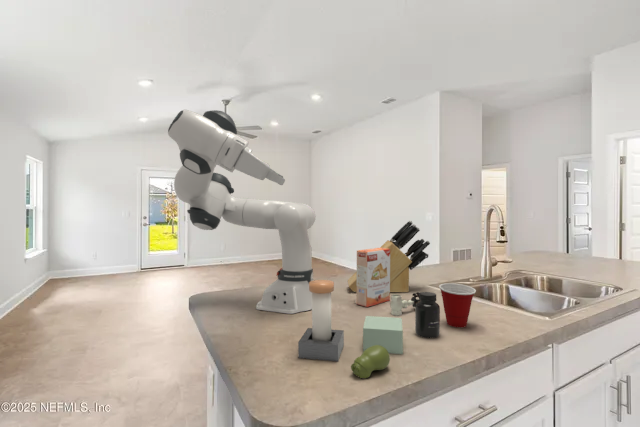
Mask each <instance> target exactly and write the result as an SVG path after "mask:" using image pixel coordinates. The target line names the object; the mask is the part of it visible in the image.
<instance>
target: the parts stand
mask: <svg viewBox="0 0 640 427" xmlns="http://www.w3.org/2000/svg"><path fill="white" fill-rule="evenodd" d="M403 330H404V329H403V320H402V317H393V316H392V317H390V316H389V317H388V316H376V315H375V316H373V315H365V319H364V322H363V327H362V343H363V344H362V347H363V348H362V350H363V351H362V352H364V351H365V350H366V349H367V348H369V347H371V346H374V345H380V346H383V347H384V348H386V349H387V351H388V353H389V354H393V355H394V354H396V355H404V351H403V350H404V347H403V346H404V342H403V341H404V336H403V333H404V332H403Z"/></svg>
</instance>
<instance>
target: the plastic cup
mask: <svg viewBox="0 0 640 427" xmlns="http://www.w3.org/2000/svg"><path fill="white" fill-rule="evenodd" d="M438 288H439V290H440V293H441V298H442V303H443V305H442V306H443V311H444V314H445V319H446V324H447V325H448V326H450V327H452V328H453V327H454V328H460V329H461V328H466V327H467V325H468V320H469V315H470V311H471V306H472V301H473V298H474V295H475V294H476V292H477V290H476V288H474V287H472V286H470V285H467V284H461V283H455V282H446V283H441V284H439V285H438Z"/></svg>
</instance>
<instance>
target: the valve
mask: <svg viewBox="0 0 640 427" xmlns="http://www.w3.org/2000/svg"><path fill="white" fill-rule="evenodd" d="M419 293H420V292H418V291H417V292H413V293H412V294H411V295H412V297H411V298H410V299H409V300H406V299H403V298H402V297H403V296H402V295H401V294H398V293H397V294H396V293H395V294H394V293H393V294H391V296H390V303H389V305H390V309H391V310H390V311H391V312H390V313H391V315H392V316H396V317H398V316H399V317H400V316H402V312H403V310H402V309H407V308H408V307H409V306H412V307H413V308H415V306H416V303H417V302H419V301H420V300H419Z"/></svg>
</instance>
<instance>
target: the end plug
mask: <svg viewBox="0 0 640 427" xmlns="http://www.w3.org/2000/svg"><path fill="white" fill-rule="evenodd" d="M309 291H310V292H312V309H311V321H312V324H311V326H312V327H311V328H312V340H318V341H332V330H333V328H332V292H334V291H335V282H334V281H333V280H330V279H315V280H314V279H313V281H310V282H309Z"/></svg>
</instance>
